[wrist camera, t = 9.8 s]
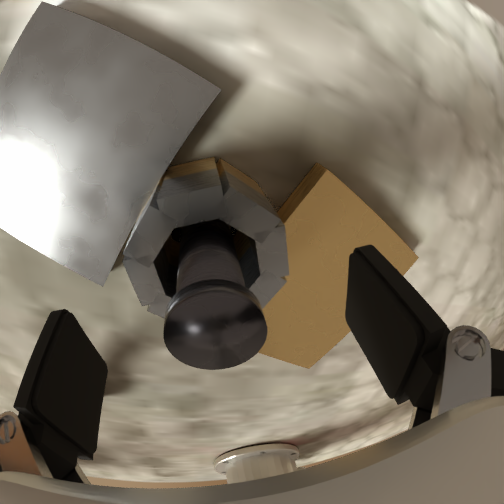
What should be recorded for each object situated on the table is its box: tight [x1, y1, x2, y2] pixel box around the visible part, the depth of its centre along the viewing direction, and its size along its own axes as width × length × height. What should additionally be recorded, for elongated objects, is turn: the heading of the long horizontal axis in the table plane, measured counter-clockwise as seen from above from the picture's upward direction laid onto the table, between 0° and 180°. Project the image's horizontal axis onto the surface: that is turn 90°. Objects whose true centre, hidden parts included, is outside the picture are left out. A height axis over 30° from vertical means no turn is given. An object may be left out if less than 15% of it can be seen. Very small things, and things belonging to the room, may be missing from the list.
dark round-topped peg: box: [164, 218, 268, 370], centre depth 12 cm, size 3×3×9 cm
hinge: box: [0, 2, 419, 369], centre depth 13 cm, size 27×12×5 cm, turn 53°
